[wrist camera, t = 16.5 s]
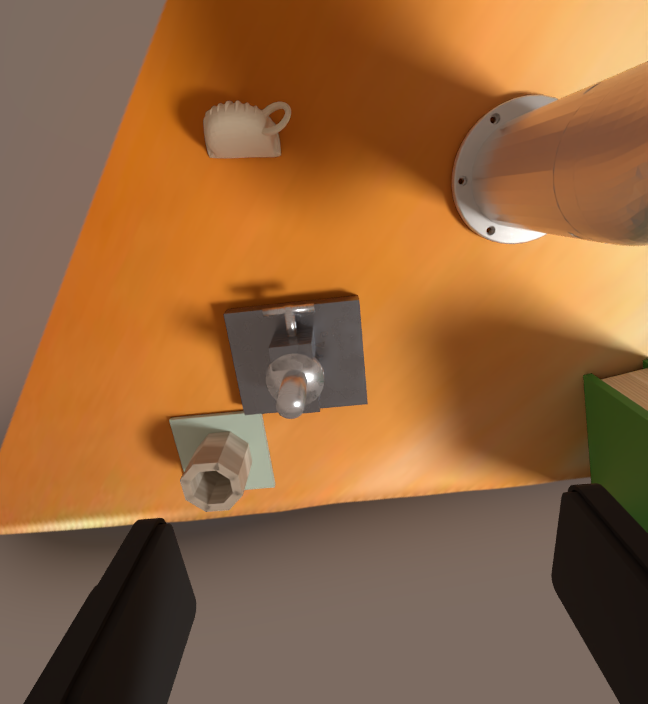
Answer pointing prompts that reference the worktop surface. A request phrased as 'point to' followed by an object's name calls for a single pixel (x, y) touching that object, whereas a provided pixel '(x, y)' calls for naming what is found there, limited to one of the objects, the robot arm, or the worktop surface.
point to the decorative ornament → (243, 130)
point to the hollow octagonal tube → (217, 472)
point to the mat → (244, 426)
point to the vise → (298, 355)
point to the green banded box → (620, 438)
